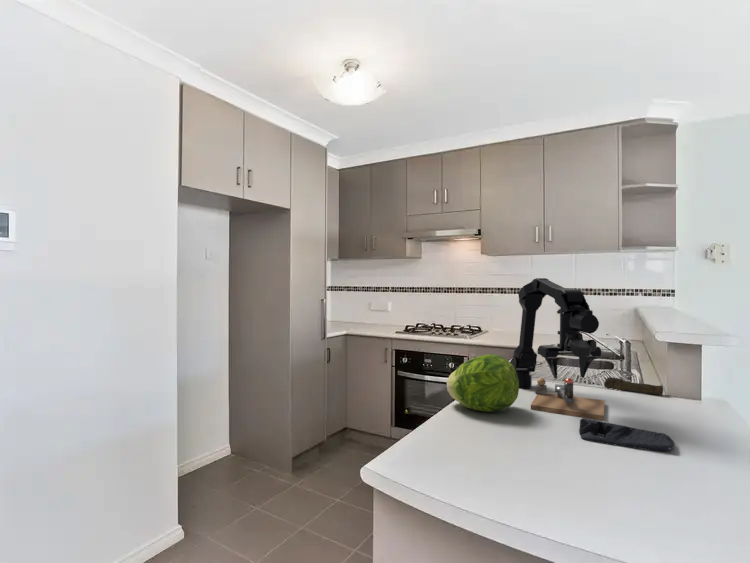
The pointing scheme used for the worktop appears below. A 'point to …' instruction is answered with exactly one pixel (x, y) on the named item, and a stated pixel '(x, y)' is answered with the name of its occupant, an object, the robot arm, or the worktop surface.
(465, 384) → the lettuce
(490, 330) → the worktop surface
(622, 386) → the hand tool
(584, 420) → the dark slate chunk
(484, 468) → the worktop surface
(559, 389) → the lever
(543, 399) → the tan wooden panel
